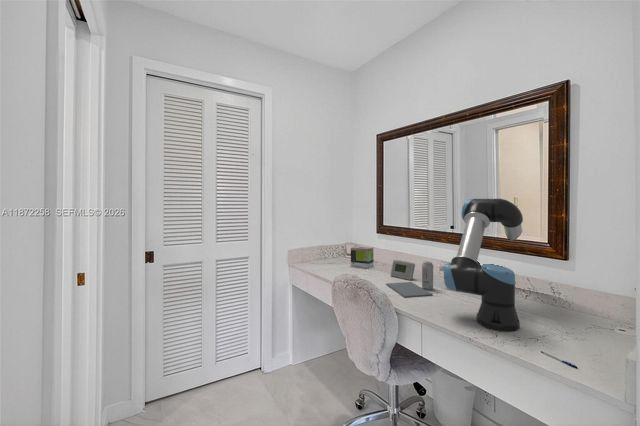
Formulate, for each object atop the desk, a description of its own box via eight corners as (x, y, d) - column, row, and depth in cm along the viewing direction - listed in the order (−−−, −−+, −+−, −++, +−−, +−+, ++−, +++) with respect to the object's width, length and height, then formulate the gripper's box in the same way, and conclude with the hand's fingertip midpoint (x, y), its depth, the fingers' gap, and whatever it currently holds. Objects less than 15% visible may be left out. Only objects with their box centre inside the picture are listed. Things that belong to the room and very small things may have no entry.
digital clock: (389, 276, 200) (388, 260, 199) (398, 274, 204) (398, 258, 204) (407, 281, 186) (407, 264, 185) (417, 279, 190) (417, 262, 190)
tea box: (373, 266, 230) (373, 247, 229) (368, 268, 221) (368, 248, 221) (356, 264, 238) (355, 245, 237) (350, 266, 229) (350, 247, 229)
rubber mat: (432, 295, 158) (432, 294, 158) (404, 297, 155) (404, 296, 155) (411, 283, 182) (411, 281, 182) (386, 284, 179) (386, 283, 179)
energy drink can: (419, 288, 172) (419, 262, 171) (426, 286, 175) (426, 260, 174) (428, 290, 167) (428, 264, 166) (435, 288, 170) (435, 262, 169)
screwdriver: (578, 369, 89) (578, 366, 89) (576, 369, 89) (576, 366, 89) (541, 352, 99) (541, 349, 99) (539, 353, 99) (539, 350, 99)
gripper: (485, 275, 170) (447, 277, 166) (469, 270, 183) (434, 272, 179) (485, 262, 170) (447, 264, 166) (469, 258, 182) (434, 259, 178)
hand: (440, 268), depth 172 cm, fingers closed
